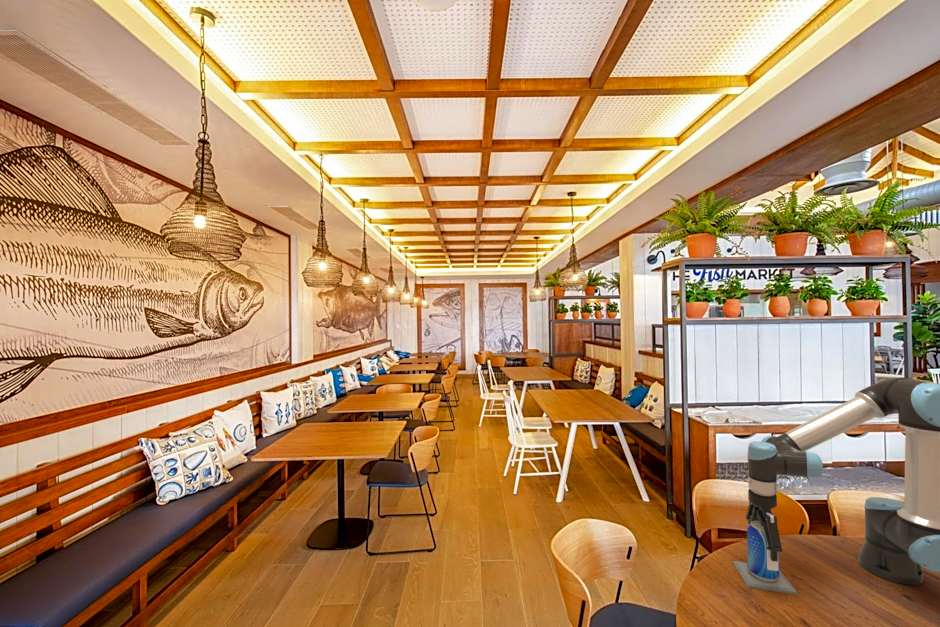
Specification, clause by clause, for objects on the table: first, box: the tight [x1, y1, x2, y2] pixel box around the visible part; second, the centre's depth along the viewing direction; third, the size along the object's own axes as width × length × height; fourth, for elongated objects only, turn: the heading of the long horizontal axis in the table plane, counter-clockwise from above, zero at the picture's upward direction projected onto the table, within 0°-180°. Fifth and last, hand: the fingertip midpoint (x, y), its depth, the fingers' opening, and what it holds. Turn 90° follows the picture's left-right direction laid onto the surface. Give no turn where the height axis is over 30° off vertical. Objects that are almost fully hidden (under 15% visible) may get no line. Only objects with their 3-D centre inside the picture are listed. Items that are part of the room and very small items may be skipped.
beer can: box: [746, 521, 780, 582], centre depth 133 cm, size 8×8×16 cm
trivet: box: [732, 560, 798, 596], centre depth 133 cm, size 13×13×1 cm
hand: (763, 556), depth 133 cm, fingers open, 13 cm apart
